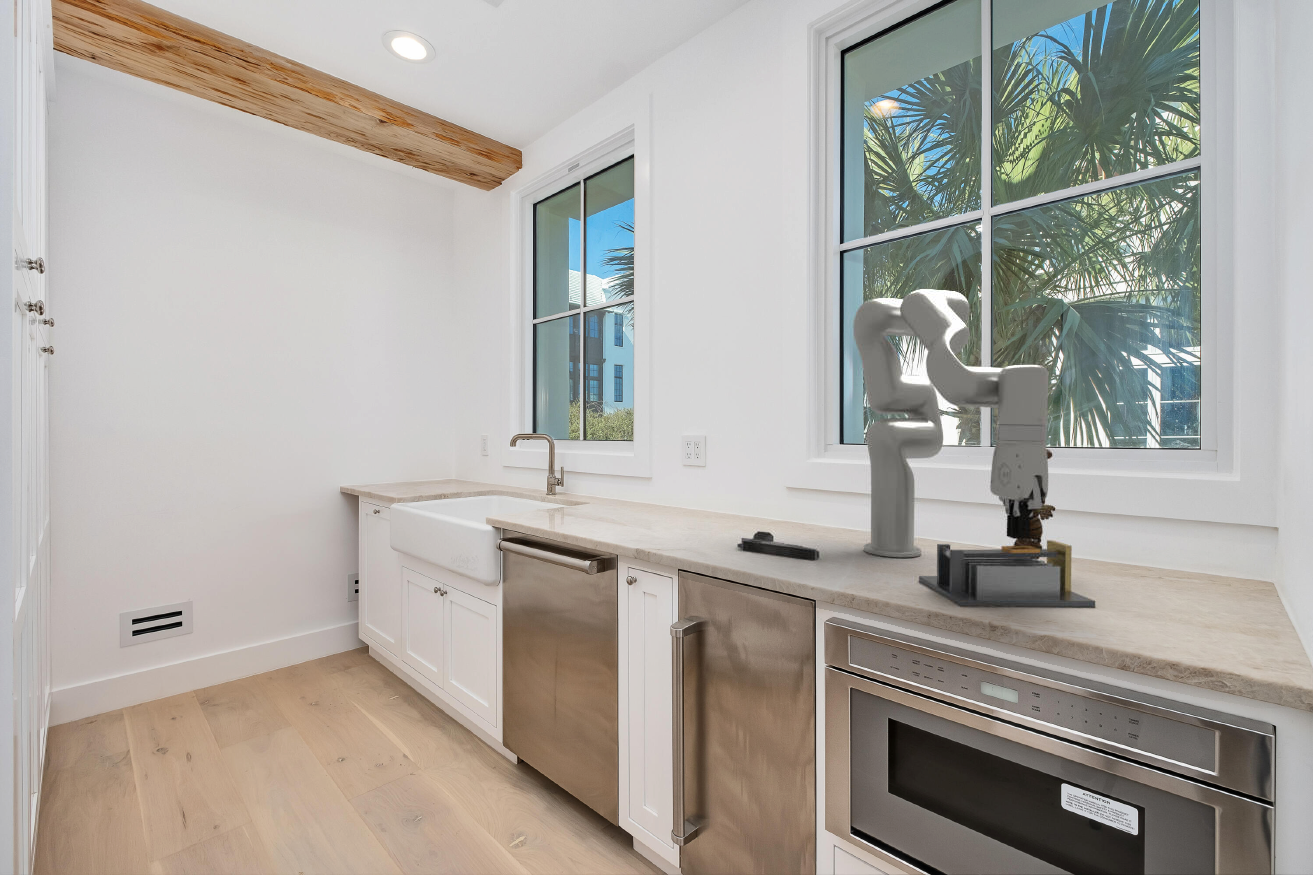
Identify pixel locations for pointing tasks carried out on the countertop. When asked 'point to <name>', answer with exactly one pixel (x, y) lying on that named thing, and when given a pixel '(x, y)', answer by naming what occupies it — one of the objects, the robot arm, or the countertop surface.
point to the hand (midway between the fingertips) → (1018, 537)
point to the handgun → (776, 547)
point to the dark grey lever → (1005, 552)
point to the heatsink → (1007, 580)
